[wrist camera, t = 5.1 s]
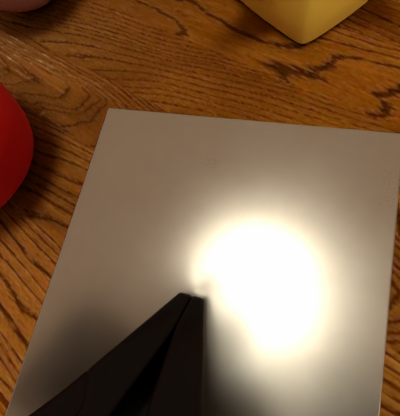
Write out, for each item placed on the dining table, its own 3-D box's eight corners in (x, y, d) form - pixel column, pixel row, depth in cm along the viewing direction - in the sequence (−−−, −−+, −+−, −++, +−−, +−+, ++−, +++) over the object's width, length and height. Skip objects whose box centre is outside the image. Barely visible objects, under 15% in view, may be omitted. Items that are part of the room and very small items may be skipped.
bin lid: (352, 592, 7) (363, 629, 6) (16, 425, 10) (-4, 437, 9) (393, 144, 10) (405, 132, 9) (117, 117, 13) (107, 107, 12)
